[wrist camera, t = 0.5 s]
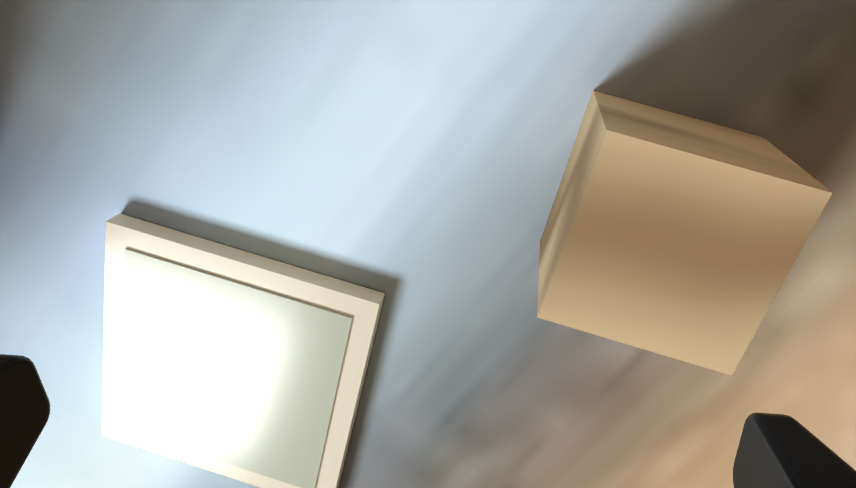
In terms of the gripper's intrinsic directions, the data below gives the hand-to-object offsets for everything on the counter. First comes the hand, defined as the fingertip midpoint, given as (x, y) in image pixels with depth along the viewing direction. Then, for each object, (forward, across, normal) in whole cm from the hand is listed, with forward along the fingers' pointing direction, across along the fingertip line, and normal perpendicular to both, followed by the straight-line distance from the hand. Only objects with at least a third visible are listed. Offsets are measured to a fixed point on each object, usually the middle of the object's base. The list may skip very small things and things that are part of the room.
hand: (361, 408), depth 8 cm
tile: (+12, +9, +10) cm, 18 cm away
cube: (+13, -5, +3) cm, 14 cm away
